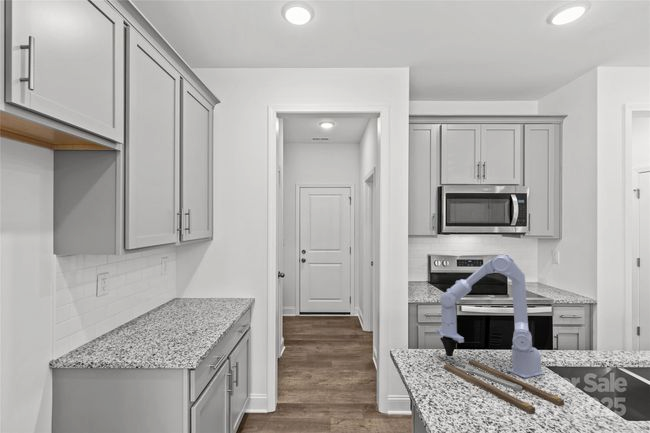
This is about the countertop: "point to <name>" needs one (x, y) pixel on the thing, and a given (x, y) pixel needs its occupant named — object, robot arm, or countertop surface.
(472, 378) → the guide channel
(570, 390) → the countertop surface
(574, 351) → the countertop surface
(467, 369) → the adjustable wrench
